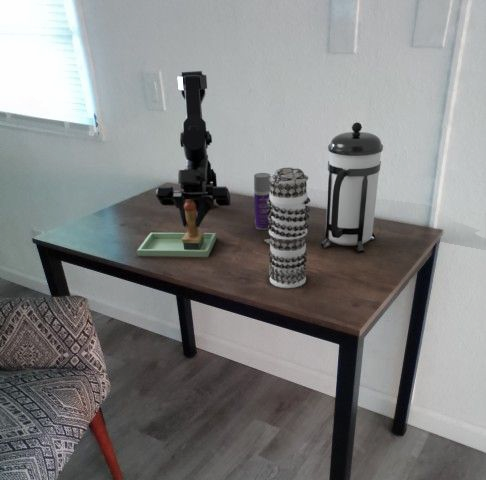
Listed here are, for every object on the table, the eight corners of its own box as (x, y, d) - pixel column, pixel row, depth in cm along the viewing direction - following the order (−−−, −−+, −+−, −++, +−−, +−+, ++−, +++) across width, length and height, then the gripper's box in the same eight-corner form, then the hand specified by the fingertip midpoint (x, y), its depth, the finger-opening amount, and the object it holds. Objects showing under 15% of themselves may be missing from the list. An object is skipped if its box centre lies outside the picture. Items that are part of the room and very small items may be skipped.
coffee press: (308, 236, 135) (311, 120, 118) (363, 229, 137) (374, 114, 121) (329, 262, 120) (337, 134, 104) (391, 254, 122) (407, 127, 106)
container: (260, 231, 139) (258, 178, 131) (252, 226, 143) (250, 174, 135) (274, 227, 141) (273, 175, 133) (266, 223, 144) (265, 171, 136)
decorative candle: (287, 267, 119) (287, 162, 106) (316, 279, 113) (320, 169, 100) (259, 279, 114) (256, 171, 101) (288, 293, 108) (288, 179, 95)
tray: (138, 257, 128) (137, 250, 126) (151, 239, 138) (150, 232, 137) (208, 258, 125) (207, 251, 124) (216, 240, 135) (216, 232, 134)
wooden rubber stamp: (183, 251, 128) (177, 204, 121) (189, 241, 133) (184, 196, 127) (199, 251, 127) (194, 204, 121) (204, 242, 133) (200, 196, 126)
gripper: (152, 155, 123) (146, 212, 119) (226, 154, 120) (221, 213, 117) (165, 177, 133) (159, 231, 130) (232, 177, 131) (228, 231, 128)
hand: (190, 226), depth 126 cm, fingers open, 3 cm apart
